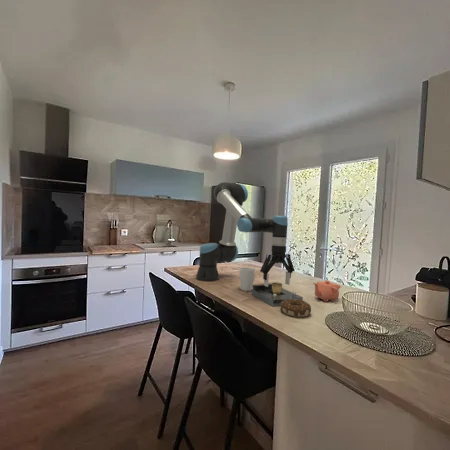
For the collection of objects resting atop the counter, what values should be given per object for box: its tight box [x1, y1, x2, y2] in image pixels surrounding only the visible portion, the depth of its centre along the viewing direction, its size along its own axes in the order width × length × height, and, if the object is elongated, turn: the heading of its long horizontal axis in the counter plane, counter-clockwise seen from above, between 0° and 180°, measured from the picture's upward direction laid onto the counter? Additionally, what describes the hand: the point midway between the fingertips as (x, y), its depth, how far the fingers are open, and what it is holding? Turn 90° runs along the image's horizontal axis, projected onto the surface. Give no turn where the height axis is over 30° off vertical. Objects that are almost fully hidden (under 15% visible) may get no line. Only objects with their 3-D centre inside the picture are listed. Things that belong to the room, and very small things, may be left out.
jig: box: [251, 283, 304, 308], centre depth 141 cm, size 20×18×5 cm
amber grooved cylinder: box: [271, 282, 283, 295], centre depth 140 cm, size 5×5×8 cm
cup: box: [238, 267, 256, 292], centre depth 156 cm, size 9×9×12 cm
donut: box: [279, 299, 312, 318], centre depth 122 cm, size 14×14×5 cm
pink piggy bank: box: [312, 280, 341, 303], centre depth 143 cm, size 14×12×10 cm
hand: (276, 285), depth 141 cm, fingers open, 13 cm apart
